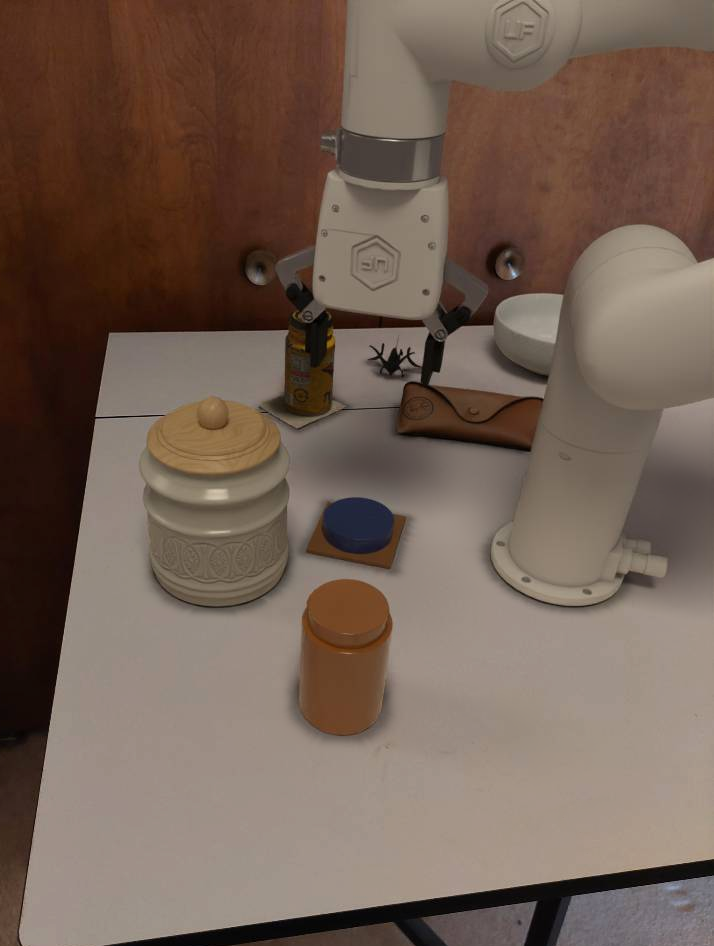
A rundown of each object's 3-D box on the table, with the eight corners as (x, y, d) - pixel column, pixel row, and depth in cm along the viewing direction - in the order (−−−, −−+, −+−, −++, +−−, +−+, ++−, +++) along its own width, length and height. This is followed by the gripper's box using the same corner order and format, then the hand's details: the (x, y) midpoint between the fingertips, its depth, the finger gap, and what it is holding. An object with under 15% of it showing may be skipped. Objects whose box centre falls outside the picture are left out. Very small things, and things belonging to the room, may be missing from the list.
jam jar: (379, 672, 66) (391, 576, 60) (384, 736, 61) (398, 639, 55) (299, 670, 66) (303, 573, 60) (298, 734, 61) (301, 637, 55)
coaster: (405, 519, 83) (406, 516, 83) (390, 569, 77) (390, 566, 76) (327, 504, 85) (327, 501, 84) (306, 552, 78) (306, 549, 78)
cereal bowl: (466, 344, 117) (474, 297, 112) (566, 333, 121) (577, 287, 117) (525, 399, 104) (536, 348, 100) (633, 384, 108) (649, 335, 104)
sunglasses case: (394, 433, 96) (402, 377, 95) (396, 434, 102) (403, 381, 102) (548, 452, 93) (557, 394, 92) (539, 451, 100) (547, 398, 99)
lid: (322, 553, 78) (322, 538, 77) (321, 510, 83) (322, 496, 82) (395, 555, 78) (397, 540, 77) (389, 512, 83) (391, 497, 82)
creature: (370, 363, 114) (358, 375, 107) (375, 325, 112) (363, 335, 105) (425, 371, 112) (416, 385, 105) (431, 333, 110) (422, 344, 103)
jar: (160, 621, 70) (140, 449, 59) (144, 532, 80) (124, 371, 69) (303, 597, 73) (309, 429, 62) (270, 515, 83) (271, 357, 72)
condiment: (346, 407, 101) (352, 317, 94) (297, 430, 97) (299, 336, 89) (306, 386, 105) (309, 298, 98) (257, 407, 101) (256, 316, 93)
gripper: (262, 156, 58) (263, 373, 68) (505, 181, 54) (466, 405, 65) (292, 134, 63) (288, 338, 74) (513, 156, 60) (476, 365, 71)
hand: (371, 369), depth 69 cm, fingers open, 9 cm apart
